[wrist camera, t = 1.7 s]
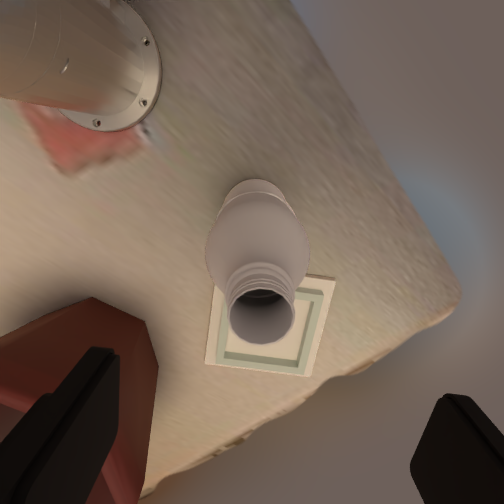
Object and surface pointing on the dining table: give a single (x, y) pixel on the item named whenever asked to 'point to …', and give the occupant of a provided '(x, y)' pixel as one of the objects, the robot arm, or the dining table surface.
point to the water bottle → (258, 261)
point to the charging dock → (284, 351)
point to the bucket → (63, 361)
